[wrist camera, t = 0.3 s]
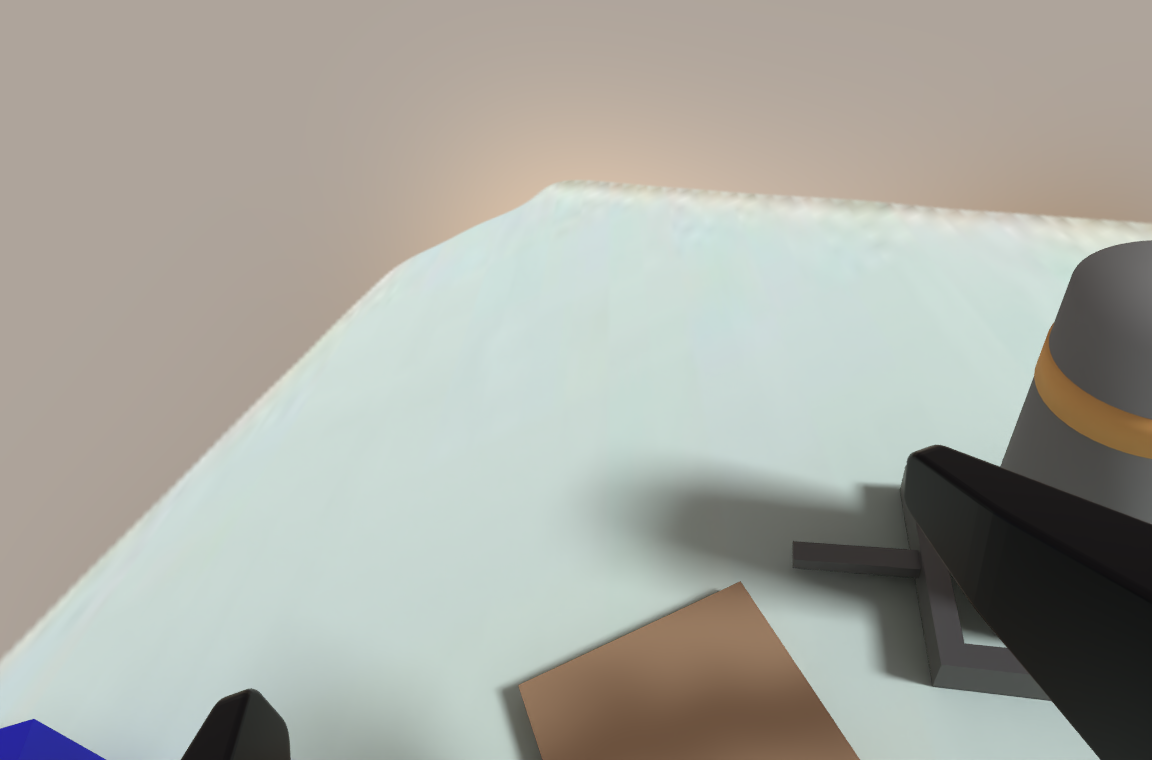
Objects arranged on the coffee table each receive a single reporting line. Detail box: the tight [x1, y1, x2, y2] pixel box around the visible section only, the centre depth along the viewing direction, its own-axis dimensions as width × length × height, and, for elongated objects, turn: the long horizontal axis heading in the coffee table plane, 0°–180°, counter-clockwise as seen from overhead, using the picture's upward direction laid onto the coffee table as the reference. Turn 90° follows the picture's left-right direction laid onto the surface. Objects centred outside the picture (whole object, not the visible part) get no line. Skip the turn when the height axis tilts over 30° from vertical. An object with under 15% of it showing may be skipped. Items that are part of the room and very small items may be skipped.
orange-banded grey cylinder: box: [1000, 241, 1152, 524], centre depth 20 cm, size 5×5×13 cm
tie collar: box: [792, 466, 1050, 700], centre depth 25 cm, size 8×13×2 cm, turn 78°
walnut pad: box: [518, 581, 860, 760], centre depth 22 cm, size 9×9×1 cm
